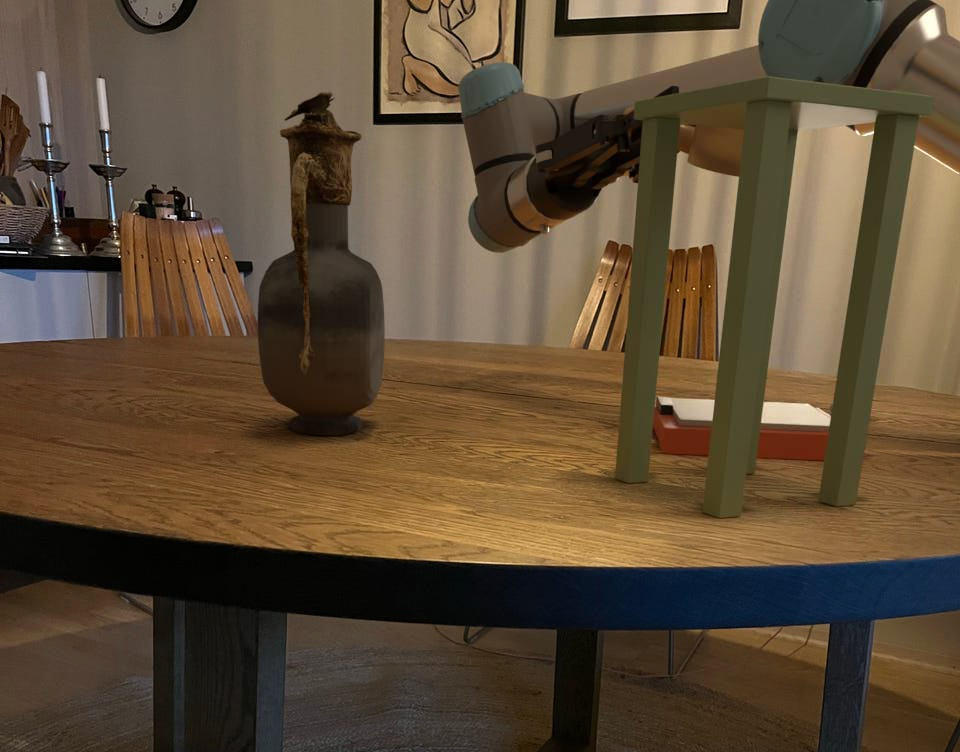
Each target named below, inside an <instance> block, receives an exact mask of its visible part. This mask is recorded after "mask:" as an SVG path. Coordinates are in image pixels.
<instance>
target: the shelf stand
mask: <svg viewBox="0 0 960 752" xmlns="http://www.w3.org/2000/svg"><path fill="white" fill-rule="evenodd" d="M933 98H934V97H933V96H929V95H920V94H912V93H904V92H895V91H887V90H879V89H870V88H862V87H854V86H845V85H837V84H829V83H820V82H812V81H803V80H795V79H787V78H778V77H770V76H768V77H763V78H758V79H752V80H747V81H742V82H736V83H731V84H725V85H720V86H715V87H709V88H704V89H699V90H693V91H688V92H683V93H677V94H672V95H667V96H661V97H656V98H651V99H645V100H640V101H635V107H634V119H636V120H643V124H642V137H641V150H640V163H639V176H638V183H637V192H636V203H635V217H634V229H633V241H632V254H631V266H630V267H631V269H630V281H629V283H630V284H629V292H628V293H629V295H628V306H627V308H628V309H627V319H626V330H625V331H626V332H625V345H624V359H623V372H622V382H621V383H622V384H621V394H620V395H621V397H620V410H619V423H618V436H617V448H616V459H615V460H616V462H615V473H614V478H615V479H616V480H619V481H621V482H622V483H623V482H624V483H626V484H636V483H637V484H639V483H648V482H649V476H650V475H649V474H650V464H651V454H652V453H651V452H652V442H653V430H654V428H653V420H654V409H655V401H656V398H657V385H658V376H659V375H658V373H659V364H660V363H659V362H660V353H661V352H660V351H661V341H662V340H661V339H662V331H663V330H662V329H663V319H664V309H665V308H664V307H665V297H666V284H667V273H668V263H669V262H668V261H669V252H670V251H669V250H670V239H671V229H672V217H673V205H674V195H675V194H674V193H675V184H676V172H677V161H678V154H677V151H678V140H679V129H680V124H690V125H701V126H712V127H723V128H734V129H744V136H743V145H742V154H741V164H740V173H739V177H738V184H737V192H736V199H735V200H736V201H735V208H734V218H733V220H734V221H733V226H732V227H733V228H732V238H731V247H730V256H729V264H728V274H727V282H726V284H727V285H726V290H725V291H726V292H725V303H724V311H723V318H722V319H723V320H722V328H721V338H720V347H719V355H718V356H719V357H718V366H717V372H716V373H717V374H716V383H715V394H714V400H715V401H714V410H713V419H712V428H711V437H710V446H709V455H707V465H706V475H705V484H704V485H705V486H704V492H703V493H704V494H703V503H702V510H701V511H702V513H704V514H707V515H710V516H711V517H715V518H717V519H725V518H735V517H742V509H743V503H744V493H745V486H746V478H747V475H754V474H756V473H755V472H756V465H757V450H758V442H759V434H760V427H761V419H762V411H763V403H764V402H765V393H766V385H767V378H768V372H769V371H768V369H769V364H770V363H769V362H770V356H771V349H772V348H771V346H772V339H773V331H774V324H775V317H776V316H775V315H776V307H777V299H778V292H779V283H780V276H781V275H780V274H781V267H782V261H783V254H784V253H783V252H784V246H785V245H784V243H785V237H786V236H785V235H786V230H787V229H786V227H787V219H788V213H789V206H790V205H789V204H790V197H791V190H792V189H791V188H792V180H793V173H794V172H793V171H794V165H795V157H796V150H797V141H798V133H799V132H802V131H803V132H804V131H809V130H819V129H828V128H837V127H846V125H855V124H863V123H872V122H875V127H874V133H872V134H873V135H872V140H871V148H870V154H869V160H868V168H867V175H866V181H865V188H864V194H863V200H862V206H861V207H862V208H861V212H860V213H861V214H860V222H859V226H858V234H857V239H856V241H857V242H856V248H855V254H854V260H853V261H854V262H853V268H852V274H851V275H852V276H851V280H850V286H849V287H850V288H849V295H848V301H847V306H846V314H845V320H844V327H843V333H842V341H841V347H840V352H839V353H840V354H839V361H838V368H837V374H836V380H835V387H834V392H833V393H834V394H833V400H832V403H833V406H832V413H831V412H830V414H831V420H830V426H829V433H828V440H827V446H826V453H825V459H824V461H823V468H822V473H821V480H820V486H819V493H818V500H817V501H818V502H819V503H824V504H827V505H830V506H833V507H836V508H837V507H848V506H856V505H857V500H858V493H859V487H860V481H861V475H862V469H863V463H864V457H865V450H866V444H867V439H868V432H869V427H870V421H871V414H872V408H873V403H874V396H875V389H876V384H877V377H878V371H879V365H880V358H881V352H882V346H883V340H884V334H885V328H886V322H887V317H888V316H887V315H888V310H889V305H890V304H889V303H890V297H891V291H892V286H893V285H892V284H893V279H894V273H895V267H896V262H897V254H898V250H899V249H898V248H899V243H900V237H901V232H902V224H903V219H904V212H905V206H906V200H907V194H908V188H909V182H910V177H911V176H910V175H911V170H912V163H913V157H914V151H915V147H914V146H915V140H916V134H917V128H918V121H919V117H924V116H930V115H931V110H932V104H933Z"/></svg>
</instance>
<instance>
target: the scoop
mask: <svg viewBox="0 0 960 752" xmlns="http://www.w3.org/2000/svg"><path fill="white" fill-rule="evenodd" d="M634 107H635V106H633V107H629V108H628V109H627V110H626V111H625V112H624V113H623V114H625V115H627V114H628V113H630V112H631V111H633V110H634ZM743 136H744V129H734V128H723V127H712V126H701V125H696V127H693V126H690V125H687V124H680V129H679V140H678V150H679V151H680V153H684V154H687V155H688V156H687V163H688V164H690V165H692V166H693V167H696V168H699V169H701V170H706V171H709V172H714V173H717V174H722V175H725V176H730V177H731V176H732V177H737V178H739V173H740V164H741V154H742V145H743Z"/></svg>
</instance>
